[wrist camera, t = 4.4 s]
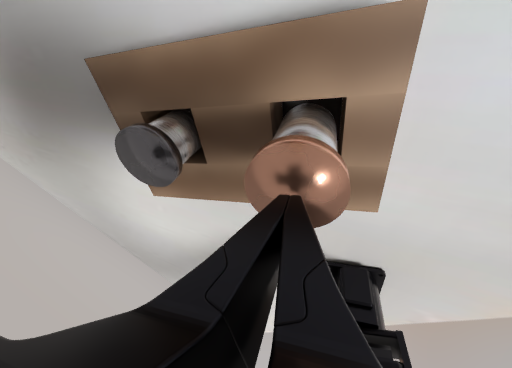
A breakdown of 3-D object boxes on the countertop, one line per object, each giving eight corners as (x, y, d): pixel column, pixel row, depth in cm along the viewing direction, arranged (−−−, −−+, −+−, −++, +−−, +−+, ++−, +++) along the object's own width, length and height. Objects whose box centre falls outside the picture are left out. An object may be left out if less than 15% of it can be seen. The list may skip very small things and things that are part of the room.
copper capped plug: (340, 160, 15) (345, 234, 10) (277, 159, 16) (252, 224, 11) (346, 93, 12) (357, 142, 7) (272, 99, 14) (235, 144, 8)
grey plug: (223, 145, 20) (184, 188, 15) (183, 145, 21) (134, 185, 16) (211, 95, 17) (160, 126, 12) (166, 99, 19) (102, 128, 14)
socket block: (369, 181, 19) (377, 212, 16) (176, 174, 25) (153, 195, 22) (403, 3, 12) (429, -5, 9) (126, 53, 18) (84, 59, 15)
